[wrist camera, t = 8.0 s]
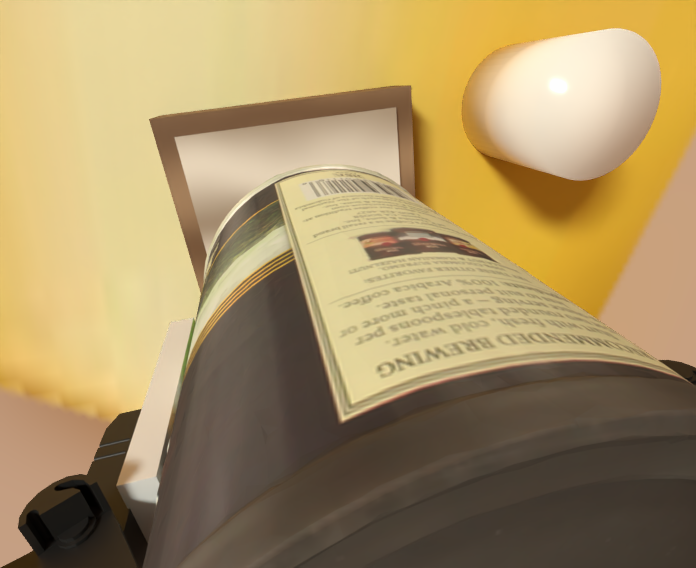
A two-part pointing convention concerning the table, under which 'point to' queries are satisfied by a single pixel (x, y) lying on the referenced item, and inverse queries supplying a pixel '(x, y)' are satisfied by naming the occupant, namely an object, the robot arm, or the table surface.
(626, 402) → the coffee can
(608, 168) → the cream egg shape
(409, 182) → the picture frame
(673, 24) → the table surface
